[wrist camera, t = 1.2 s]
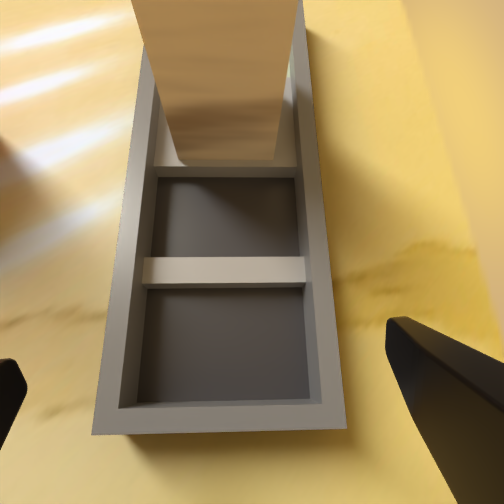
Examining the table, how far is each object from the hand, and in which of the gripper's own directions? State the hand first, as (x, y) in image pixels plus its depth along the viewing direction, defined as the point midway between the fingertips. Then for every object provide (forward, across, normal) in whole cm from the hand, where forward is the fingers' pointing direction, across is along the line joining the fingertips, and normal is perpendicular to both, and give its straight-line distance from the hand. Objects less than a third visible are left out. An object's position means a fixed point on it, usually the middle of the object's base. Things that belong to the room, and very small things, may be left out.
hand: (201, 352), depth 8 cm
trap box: (+16, 0, -2) cm, 16 cm away
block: (+17, 0, -5) cm, 18 cm away
